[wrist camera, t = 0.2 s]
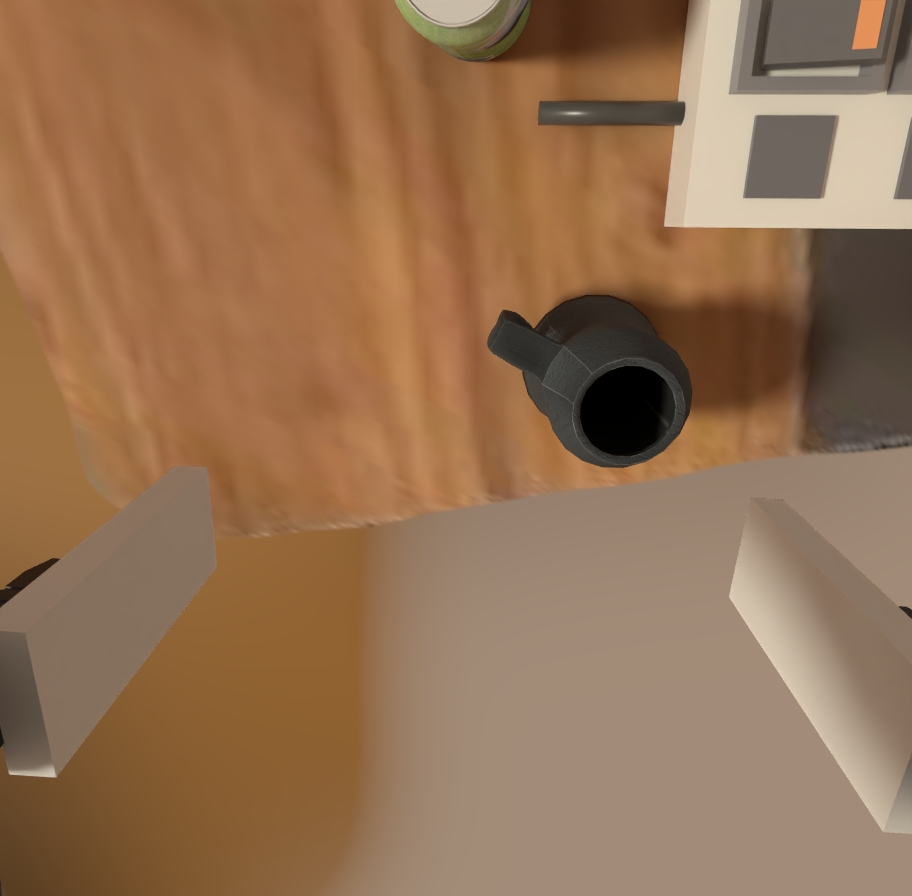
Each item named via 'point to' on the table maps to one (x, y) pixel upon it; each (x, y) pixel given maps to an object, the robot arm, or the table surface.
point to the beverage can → (468, 25)
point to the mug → (599, 378)
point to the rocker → (825, 33)
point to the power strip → (776, 129)
